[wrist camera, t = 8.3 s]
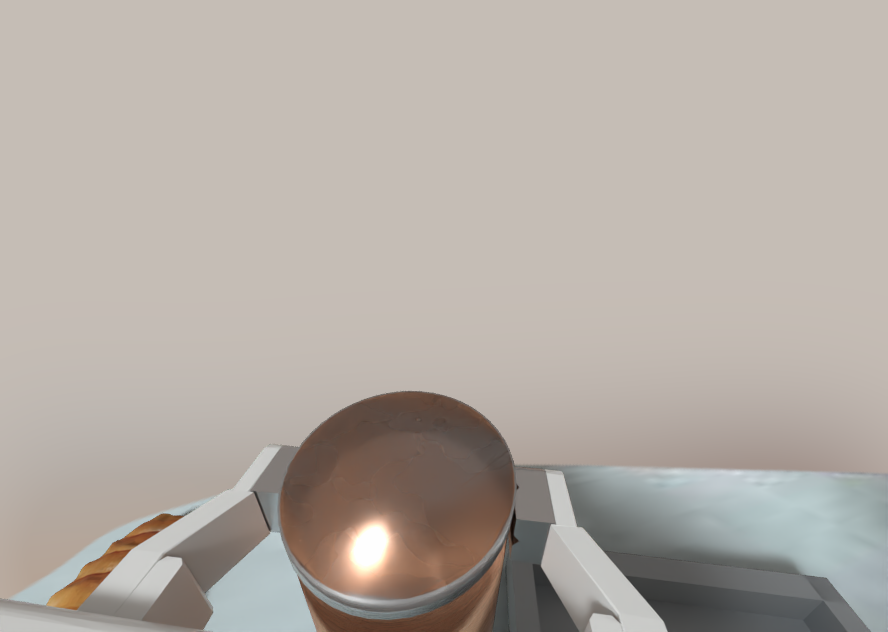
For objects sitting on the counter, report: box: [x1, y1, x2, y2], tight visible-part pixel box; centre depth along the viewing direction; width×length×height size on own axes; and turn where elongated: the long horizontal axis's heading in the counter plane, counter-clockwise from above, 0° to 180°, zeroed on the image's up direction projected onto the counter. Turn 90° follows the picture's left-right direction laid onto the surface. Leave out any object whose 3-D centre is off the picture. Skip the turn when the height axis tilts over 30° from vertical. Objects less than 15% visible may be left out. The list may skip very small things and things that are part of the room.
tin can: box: [277, 391, 517, 632], centre depth 11 cm, size 6×6×11 cm
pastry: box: [46, 514, 184, 610], centre depth 19 cm, size 9×7×4 cm
